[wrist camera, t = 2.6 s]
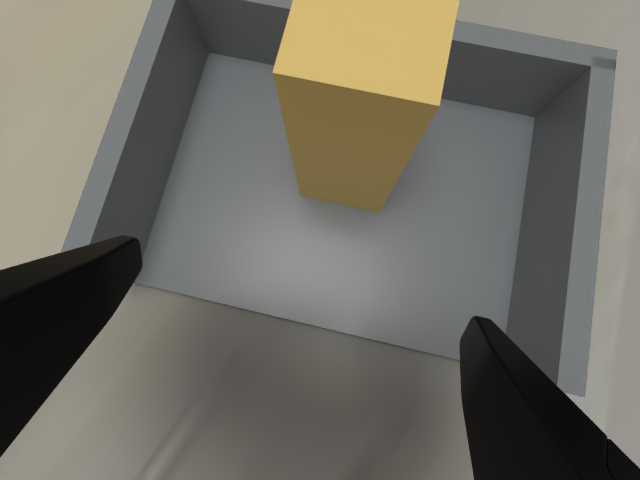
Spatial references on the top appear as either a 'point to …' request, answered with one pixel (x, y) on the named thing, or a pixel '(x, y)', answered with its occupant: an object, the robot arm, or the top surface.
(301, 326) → the top surface
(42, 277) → the robot arm
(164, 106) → the open box
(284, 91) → the ochre block
